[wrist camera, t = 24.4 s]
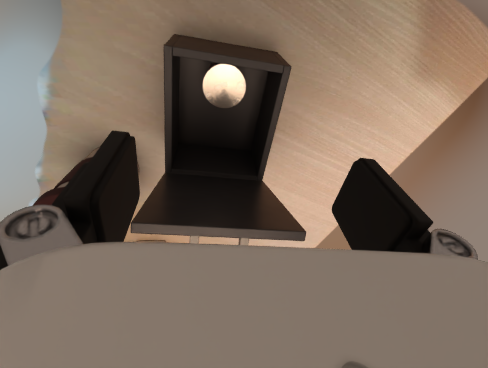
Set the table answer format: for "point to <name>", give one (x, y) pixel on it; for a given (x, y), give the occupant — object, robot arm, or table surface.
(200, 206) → the lid
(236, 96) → the coffee pod
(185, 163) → the open dark brown box
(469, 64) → the table surface
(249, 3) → the table surface
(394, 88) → the table surface
